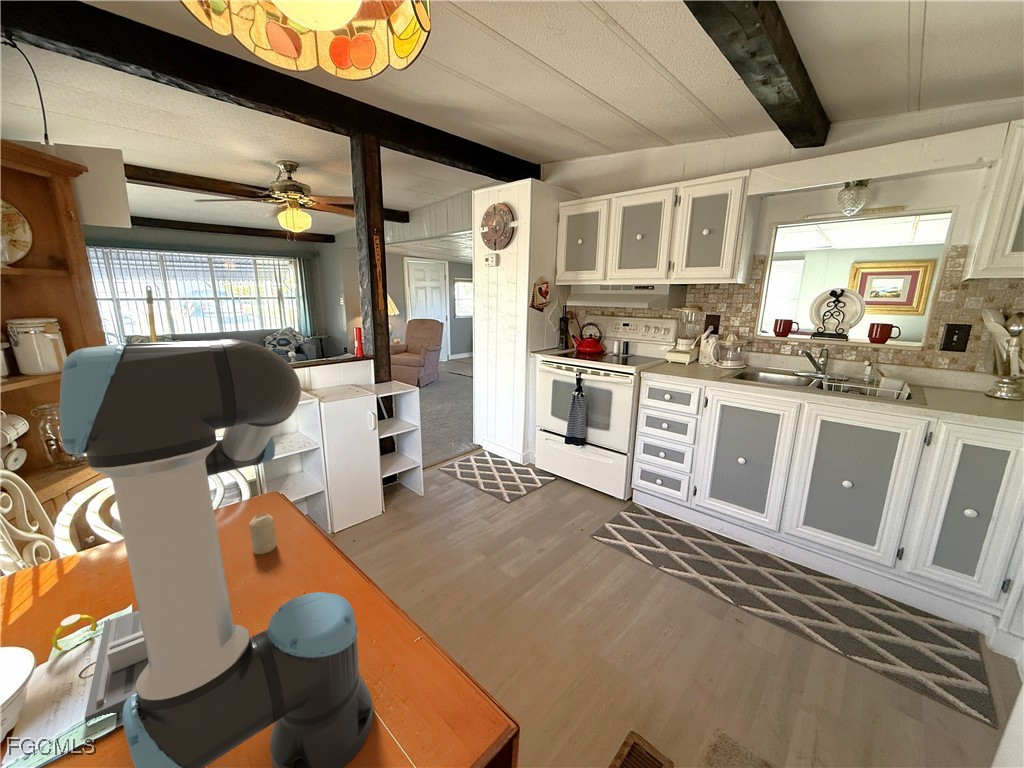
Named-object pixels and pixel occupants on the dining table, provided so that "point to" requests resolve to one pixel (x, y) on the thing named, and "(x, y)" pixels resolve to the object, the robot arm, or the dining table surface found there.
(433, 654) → the dining table surface
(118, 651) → the grey cap
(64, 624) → the watch
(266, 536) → the candle
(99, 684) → the console board
